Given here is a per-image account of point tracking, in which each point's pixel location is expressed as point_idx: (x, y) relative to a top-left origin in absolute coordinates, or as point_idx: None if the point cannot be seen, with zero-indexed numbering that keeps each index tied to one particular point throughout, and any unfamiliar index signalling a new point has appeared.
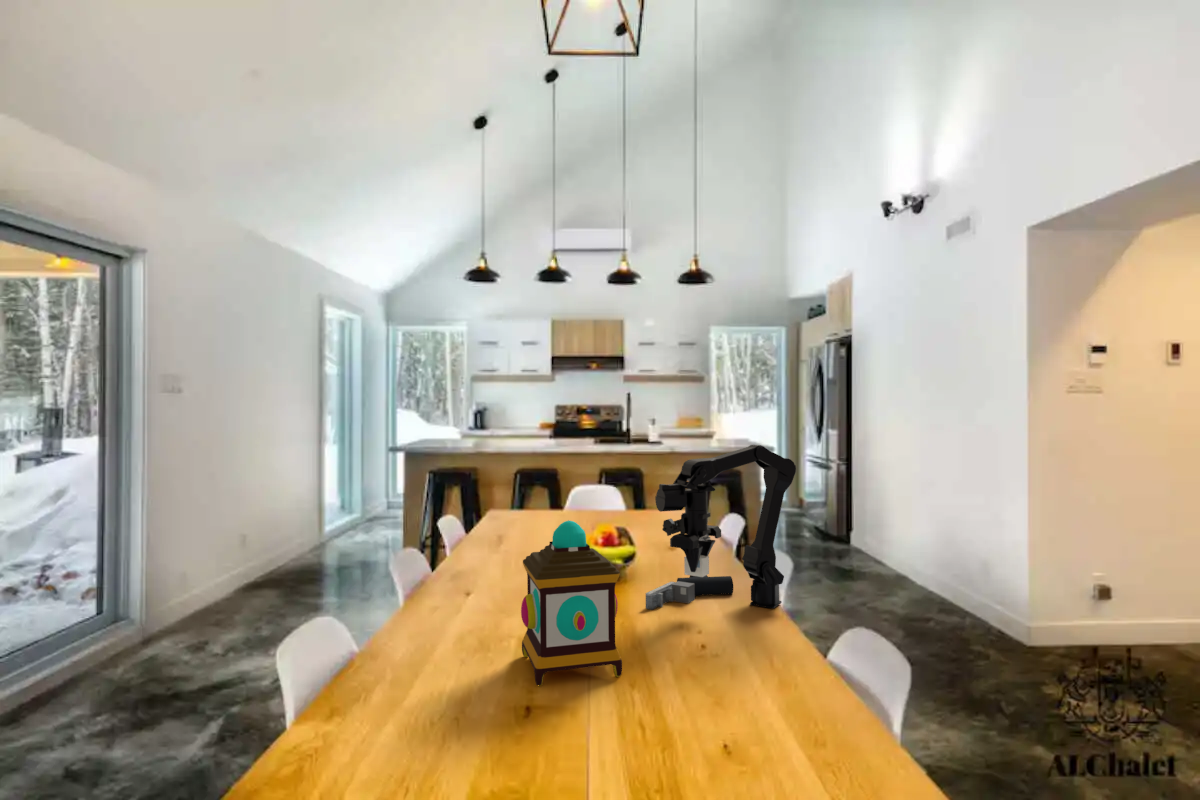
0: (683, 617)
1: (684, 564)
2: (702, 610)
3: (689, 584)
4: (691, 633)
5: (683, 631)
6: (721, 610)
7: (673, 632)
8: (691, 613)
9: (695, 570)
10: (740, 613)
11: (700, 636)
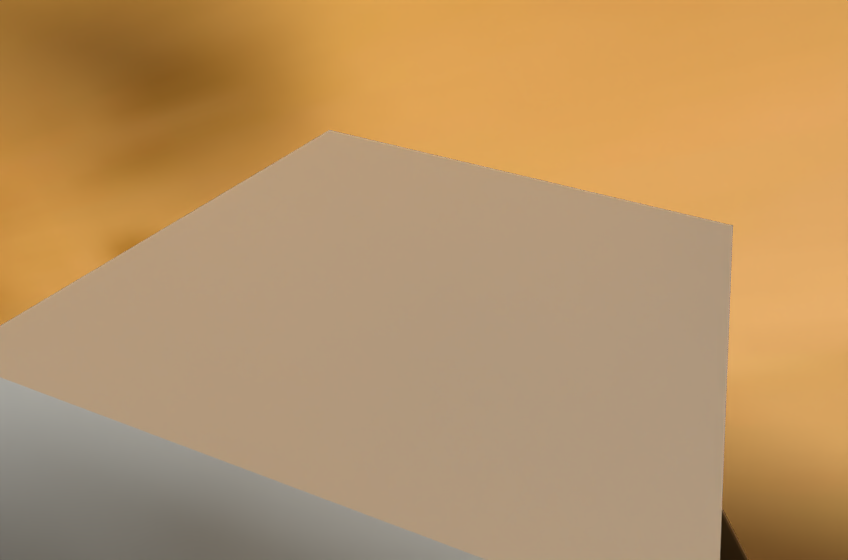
0: (403, 30)
1: (175, 224)
2: (734, 174)
3: None
4: (86, 201)
5: (86, 134)
6: (792, 368)
7: (26, 64)
8: (573, 77)
9: None
10: (731, 525)
11: (75, 269)
